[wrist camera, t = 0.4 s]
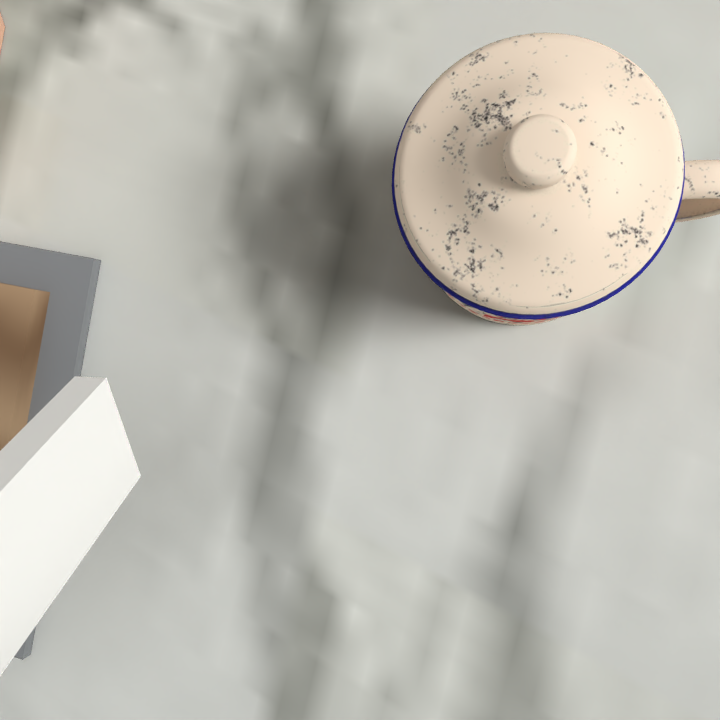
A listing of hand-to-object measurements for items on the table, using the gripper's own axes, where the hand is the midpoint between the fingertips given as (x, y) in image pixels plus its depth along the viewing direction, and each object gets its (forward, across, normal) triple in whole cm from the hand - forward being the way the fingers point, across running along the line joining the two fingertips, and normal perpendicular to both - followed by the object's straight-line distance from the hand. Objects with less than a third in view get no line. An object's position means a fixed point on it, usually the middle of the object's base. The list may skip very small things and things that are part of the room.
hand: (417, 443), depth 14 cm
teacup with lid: (+19, -3, +3) cm, 20 cm away
